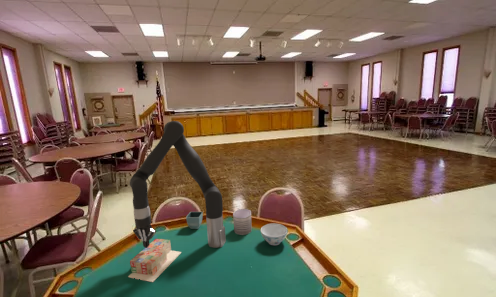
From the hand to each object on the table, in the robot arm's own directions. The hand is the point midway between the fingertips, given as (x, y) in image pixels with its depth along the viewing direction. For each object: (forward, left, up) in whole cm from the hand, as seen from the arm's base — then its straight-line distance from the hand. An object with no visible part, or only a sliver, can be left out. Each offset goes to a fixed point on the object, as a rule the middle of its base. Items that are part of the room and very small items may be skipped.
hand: (146, 246), depth 131 cm
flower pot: (-5, -40, -9) cm, 41 cm away
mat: (-5, 0, -9) cm, 10 cm away
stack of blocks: (+3, -1, -5) cm, 6 cm away
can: (-37, -43, -9) cm, 57 cm away
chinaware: (-59, -34, -9) cm, 69 cm away
